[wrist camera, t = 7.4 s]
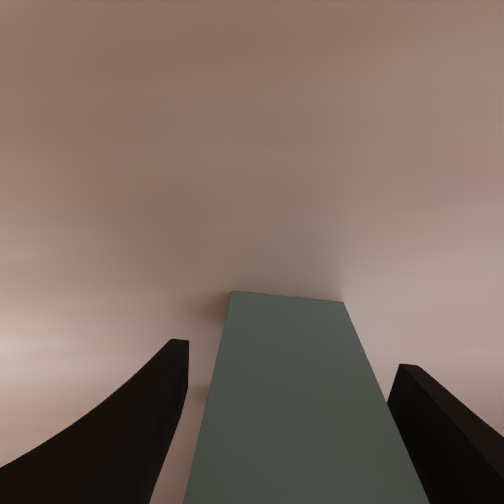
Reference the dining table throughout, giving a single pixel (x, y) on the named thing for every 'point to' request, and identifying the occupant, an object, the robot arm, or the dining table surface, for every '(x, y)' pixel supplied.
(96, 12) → the dining table surface
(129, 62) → the dining table surface
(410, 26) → the dining table surface
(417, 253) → the dining table surface
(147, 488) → the robot arm
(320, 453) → the domino
